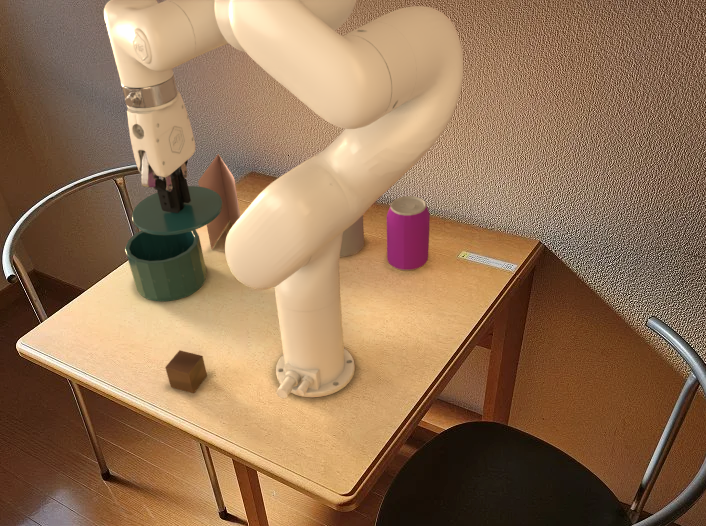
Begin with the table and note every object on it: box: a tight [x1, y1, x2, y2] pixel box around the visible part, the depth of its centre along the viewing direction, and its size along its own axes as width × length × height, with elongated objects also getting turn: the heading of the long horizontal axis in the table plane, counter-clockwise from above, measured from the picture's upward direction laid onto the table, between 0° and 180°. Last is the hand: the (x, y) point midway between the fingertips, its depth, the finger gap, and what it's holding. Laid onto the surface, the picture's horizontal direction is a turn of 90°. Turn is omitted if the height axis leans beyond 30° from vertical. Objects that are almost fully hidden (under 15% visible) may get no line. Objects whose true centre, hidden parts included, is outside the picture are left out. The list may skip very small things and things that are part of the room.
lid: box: [131, 173, 223, 235], centre depth 116 cm, size 15×15×7 cm
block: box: [165, 349, 208, 394], centre depth 118 cm, size 4×4×4 cm
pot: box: [124, 229, 207, 302], centre depth 139 cm, size 14×14×8 cm
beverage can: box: [386, 195, 431, 272], centre depth 134 cm, size 8×8×12 cm
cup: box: [340, 214, 365, 257], centre depth 141 cm, size 8×8×10 cm
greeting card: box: [197, 153, 241, 251], centre depth 146 cm, size 11×7×15 cm, turn 164°
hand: (176, 205), depth 118 cm, fingers closed on lid, 2 cm apart
